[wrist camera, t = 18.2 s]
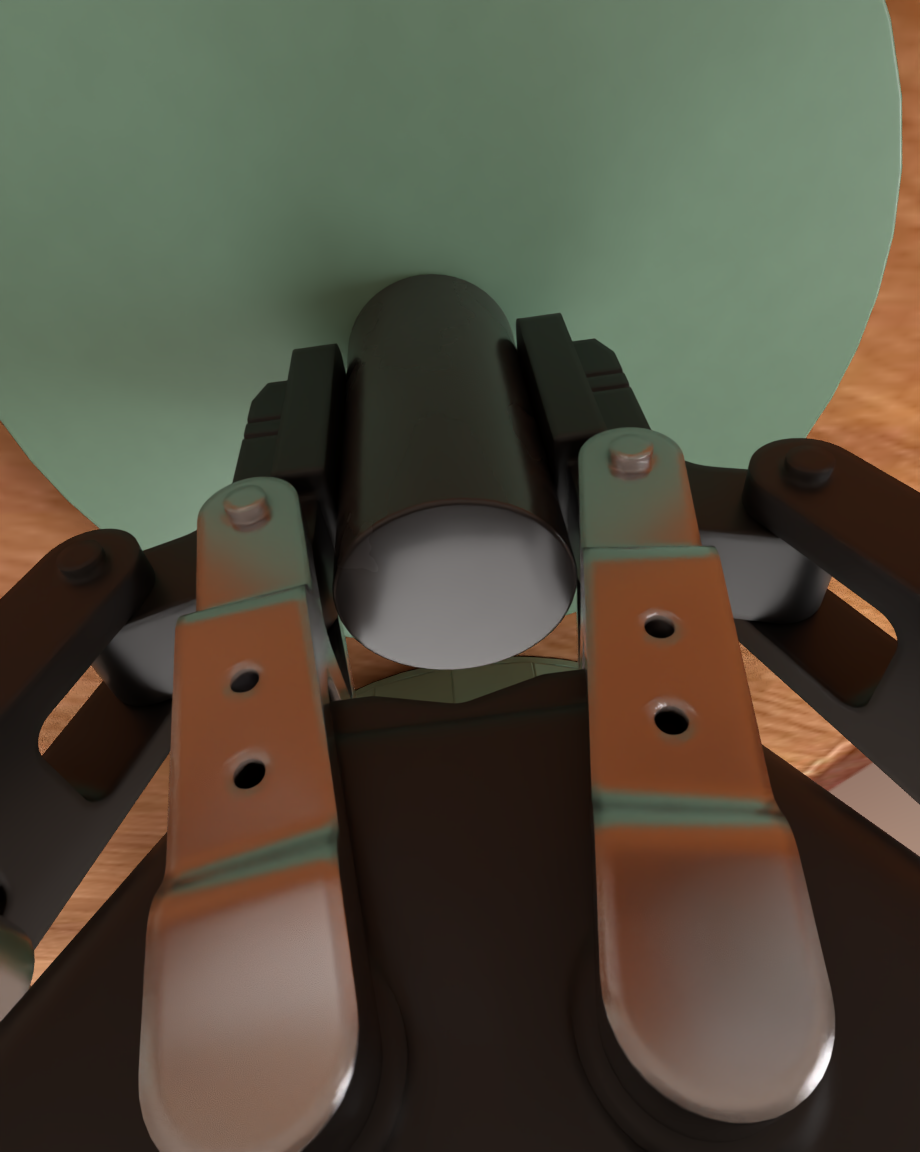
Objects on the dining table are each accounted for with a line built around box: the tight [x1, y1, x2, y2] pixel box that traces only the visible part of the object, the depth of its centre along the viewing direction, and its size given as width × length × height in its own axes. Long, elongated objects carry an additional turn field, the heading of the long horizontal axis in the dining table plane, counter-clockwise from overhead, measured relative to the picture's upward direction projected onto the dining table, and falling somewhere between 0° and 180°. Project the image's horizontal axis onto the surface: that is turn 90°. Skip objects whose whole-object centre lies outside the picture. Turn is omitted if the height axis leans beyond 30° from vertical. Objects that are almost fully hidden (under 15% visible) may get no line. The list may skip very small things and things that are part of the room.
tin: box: [355, 657, 578, 703], centre depth 25 cm, size 15×15×6 cm
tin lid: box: [0, 0, 902, 670], centre depth 11 cm, size 16×16×7 cm
